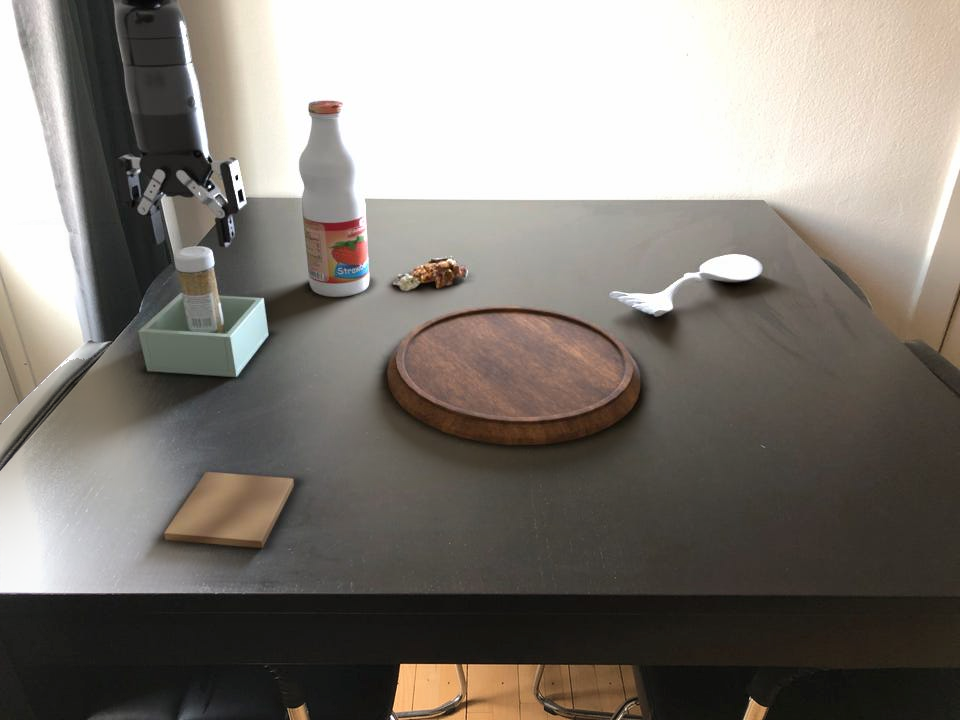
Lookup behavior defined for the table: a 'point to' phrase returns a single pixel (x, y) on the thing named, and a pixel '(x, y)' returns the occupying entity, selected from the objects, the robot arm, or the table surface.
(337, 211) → the fruit juice
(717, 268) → the spoon
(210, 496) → the plate
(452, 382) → the cutting board
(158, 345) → the tub
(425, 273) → the pastry
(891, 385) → the table surface
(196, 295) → the sprinkles bottle
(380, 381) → the table surface
